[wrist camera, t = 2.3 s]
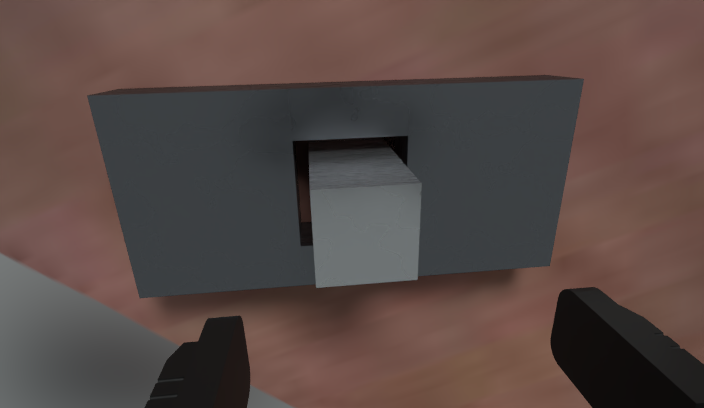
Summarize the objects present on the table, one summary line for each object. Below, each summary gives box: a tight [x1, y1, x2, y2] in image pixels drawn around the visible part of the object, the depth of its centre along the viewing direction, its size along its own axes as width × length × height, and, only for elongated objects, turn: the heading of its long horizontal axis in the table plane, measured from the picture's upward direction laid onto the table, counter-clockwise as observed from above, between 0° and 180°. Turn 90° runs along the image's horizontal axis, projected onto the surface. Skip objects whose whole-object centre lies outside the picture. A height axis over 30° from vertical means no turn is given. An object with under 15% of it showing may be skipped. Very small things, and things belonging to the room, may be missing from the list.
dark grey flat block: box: [87, 75, 584, 298], centre depth 21 cm, size 22×10×3 cm, turn 91°
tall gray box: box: [308, 138, 422, 288], centre depth 18 cm, size 4×4×8 cm
